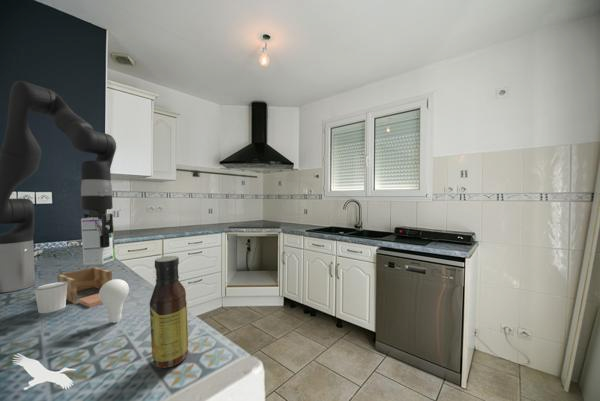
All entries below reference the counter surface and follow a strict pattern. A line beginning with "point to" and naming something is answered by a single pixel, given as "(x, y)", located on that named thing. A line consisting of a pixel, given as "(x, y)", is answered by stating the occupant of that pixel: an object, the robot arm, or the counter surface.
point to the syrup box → (95, 243)
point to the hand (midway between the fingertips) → (98, 246)
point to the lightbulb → (114, 298)
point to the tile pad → (91, 300)
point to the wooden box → (84, 280)
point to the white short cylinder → (51, 297)
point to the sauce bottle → (168, 315)
